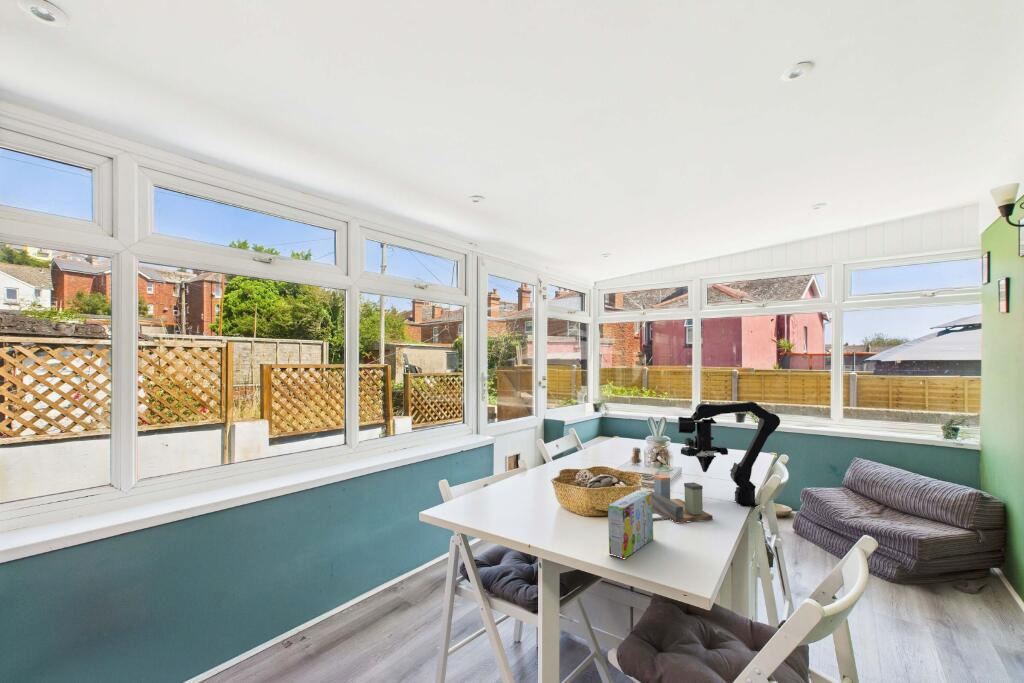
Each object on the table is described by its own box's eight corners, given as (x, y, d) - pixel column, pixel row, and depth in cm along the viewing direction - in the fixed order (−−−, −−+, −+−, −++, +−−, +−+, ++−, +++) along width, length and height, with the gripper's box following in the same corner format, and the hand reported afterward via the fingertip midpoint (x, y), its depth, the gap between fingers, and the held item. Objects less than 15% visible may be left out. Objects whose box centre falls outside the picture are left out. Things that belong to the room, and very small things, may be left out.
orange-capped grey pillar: (663, 500, 187) (663, 474, 187) (670, 503, 182) (670, 477, 182) (654, 500, 186) (653, 475, 186) (661, 504, 181) (660, 478, 181)
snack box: (637, 535, 153) (637, 489, 154) (654, 539, 150) (653, 492, 151) (607, 555, 137) (607, 504, 138) (625, 560, 133) (624, 507, 134)
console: (678, 502, 190) (677, 488, 190) (712, 519, 168) (712, 504, 168) (644, 504, 186) (644, 491, 187) (675, 523, 165) (675, 507, 165)
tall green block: (694, 509, 174) (693, 482, 175) (703, 514, 169) (702, 485, 170) (684, 510, 173) (684, 483, 174) (693, 515, 168) (692, 486, 169)
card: (650, 507, 182) (650, 506, 182) (669, 519, 169) (669, 517, 169) (631, 509, 181) (631, 508, 181) (649, 521, 167) (649, 519, 167)
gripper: (711, 430, 202) (712, 466, 201) (673, 431, 198) (673, 468, 197) (728, 434, 191) (729, 472, 191) (688, 435, 187) (689, 474, 186)
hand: (704, 471), depth 191 cm, fingers closed
